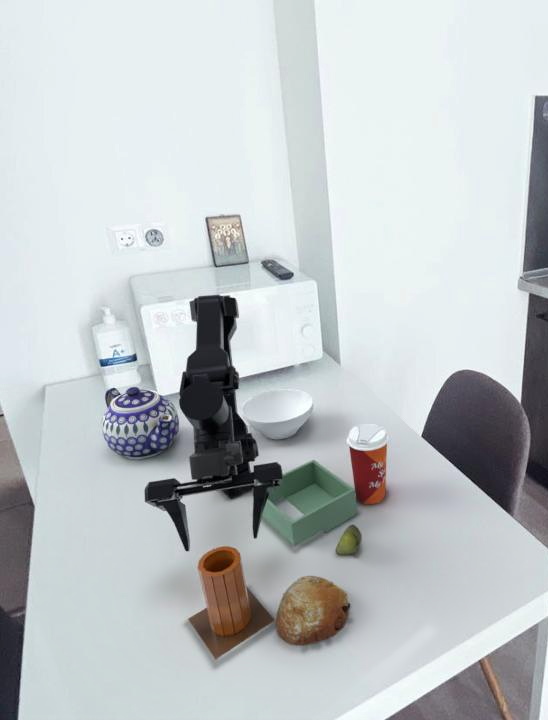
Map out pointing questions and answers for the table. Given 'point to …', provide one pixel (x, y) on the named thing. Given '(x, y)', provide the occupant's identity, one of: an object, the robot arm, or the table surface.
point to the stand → (225, 643)
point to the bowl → (278, 412)
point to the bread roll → (311, 611)
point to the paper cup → (368, 461)
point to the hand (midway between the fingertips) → (221, 544)
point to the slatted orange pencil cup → (224, 590)
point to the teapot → (139, 422)
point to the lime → (349, 541)
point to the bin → (310, 502)
